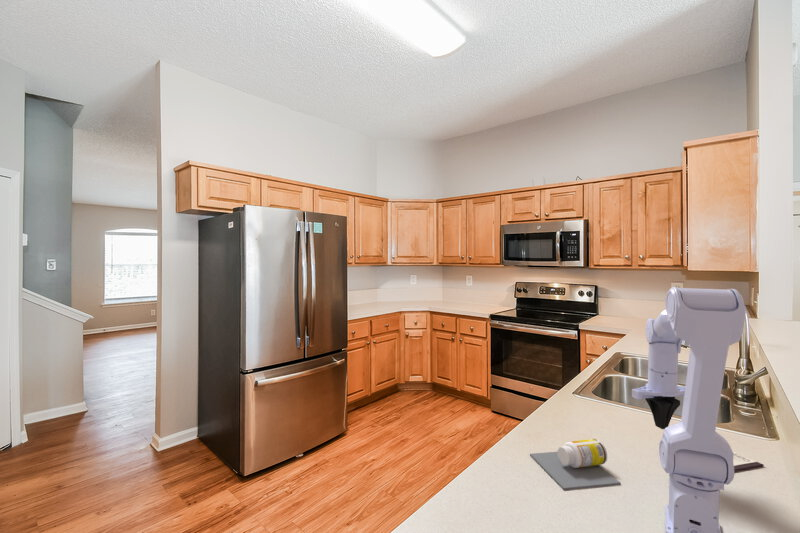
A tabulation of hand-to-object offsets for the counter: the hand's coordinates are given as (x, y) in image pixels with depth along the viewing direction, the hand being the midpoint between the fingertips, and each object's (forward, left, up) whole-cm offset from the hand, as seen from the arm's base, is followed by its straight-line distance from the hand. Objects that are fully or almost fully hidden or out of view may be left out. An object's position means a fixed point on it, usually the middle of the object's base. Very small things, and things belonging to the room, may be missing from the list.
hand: (661, 427), depth 88 cm
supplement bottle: (-8, +12, -6) cm, 15 cm away
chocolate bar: (+11, -11, -10) cm, 19 cm away
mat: (-14, +17, -9) cm, 24 cm away
